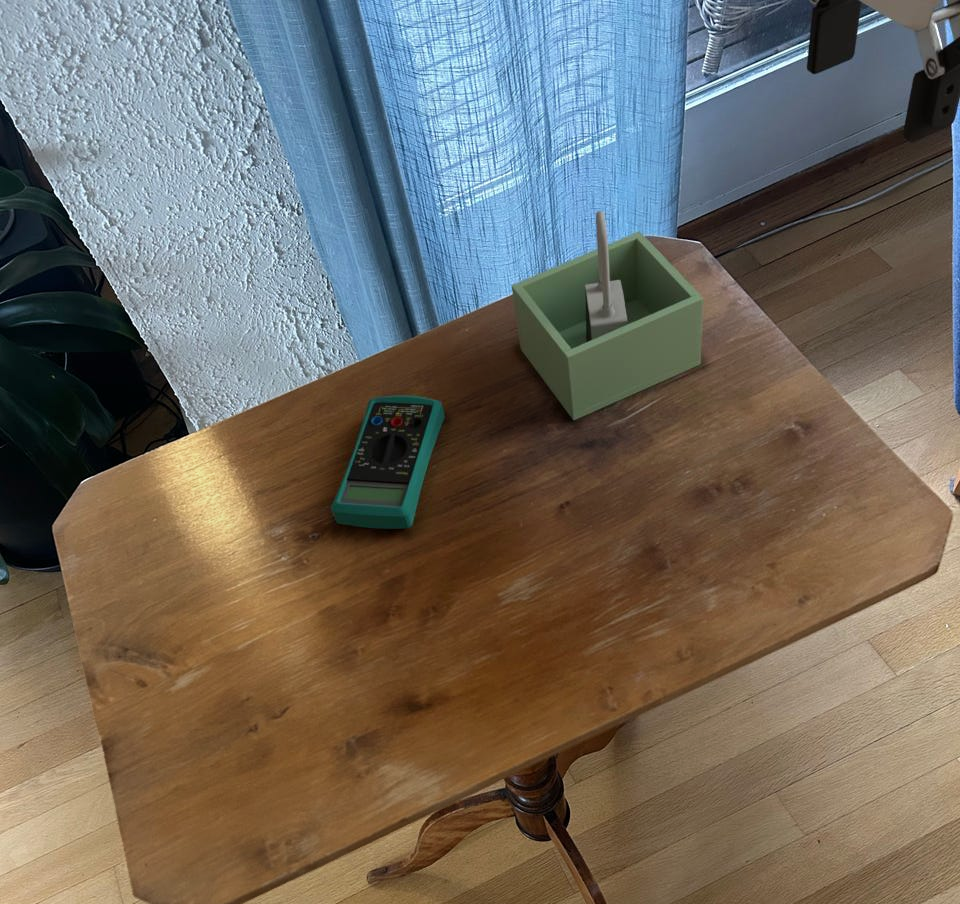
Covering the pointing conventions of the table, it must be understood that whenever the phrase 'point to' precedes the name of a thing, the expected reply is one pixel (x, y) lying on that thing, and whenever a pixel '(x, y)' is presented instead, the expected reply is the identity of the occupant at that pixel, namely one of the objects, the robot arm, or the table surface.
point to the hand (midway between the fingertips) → (876, 97)
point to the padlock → (603, 292)
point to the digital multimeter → (389, 462)
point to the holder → (623, 352)
